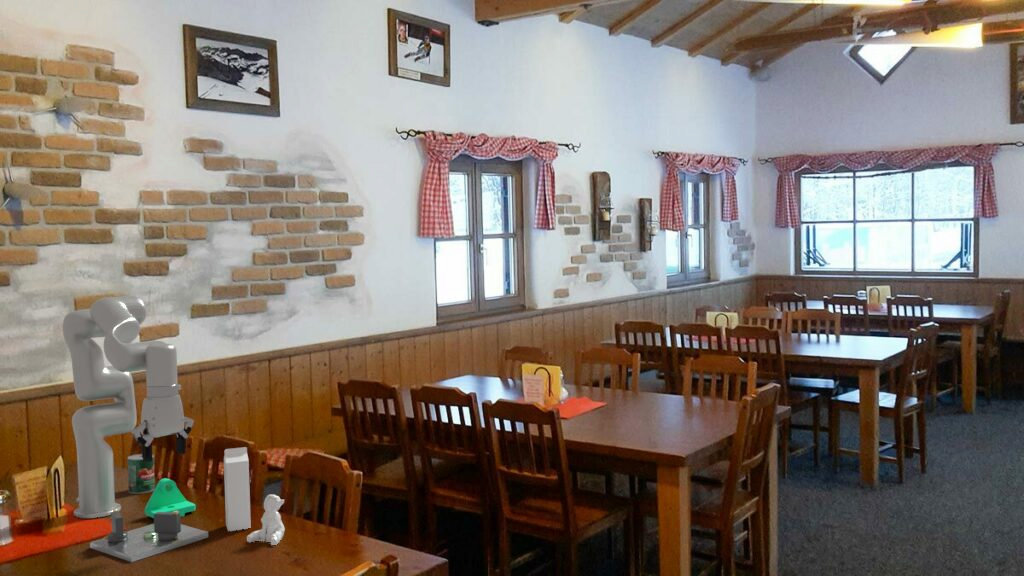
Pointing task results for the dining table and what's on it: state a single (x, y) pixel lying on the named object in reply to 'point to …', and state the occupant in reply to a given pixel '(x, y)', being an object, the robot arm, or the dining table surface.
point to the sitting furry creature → (270, 522)
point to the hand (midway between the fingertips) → (164, 456)
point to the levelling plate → (146, 543)
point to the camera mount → (167, 499)
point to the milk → (237, 489)
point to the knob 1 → (117, 528)
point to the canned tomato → (140, 474)
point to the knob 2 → (167, 525)
